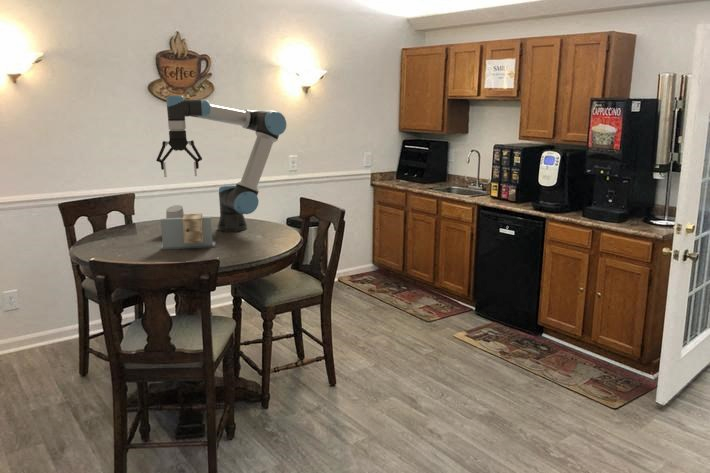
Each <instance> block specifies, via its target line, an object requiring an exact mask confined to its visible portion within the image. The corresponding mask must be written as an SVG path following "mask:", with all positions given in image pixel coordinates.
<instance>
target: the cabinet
mask: <svg viewBox="0 0 710 473" xmlns="http://www.w3.org/2000/svg"><path fill="white" fill-rule="evenodd" d="M202 217H203V213H184V216H183V219H182V220H183V232H184V243H198V242H203V227H202Z"/></svg>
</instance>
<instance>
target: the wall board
mask: <svg viewBox="0 0 710 473" xmlns="http://www.w3.org/2000/svg"><path fill="white" fill-rule="evenodd" d="M182 219H183V218H167V219H166V218H161V219H160V226H161V227H160V228H161V240H162V245H161V246H160V250H161V251H162V250H166V251H167V250H182V249H198V248H199V249H202V248H203V249H204V248H214V247H216V241H213V229H212V228H213V227H212V216H202V227H203V242H198V243H184V232H183V220H182Z"/></svg>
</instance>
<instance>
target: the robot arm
mask: <svg viewBox="0 0 710 473" xmlns="http://www.w3.org/2000/svg"><path fill="white" fill-rule="evenodd" d="M166 111H167V124H168V126H167V127H168V130H169V131H168V135H169V137H168V138H169V140H168V141H166V140H163V141H162V144H161V145H162V146H161V149H160V151H159V152H158V155H157V157H156V162H158V163H160V169H161V171H163V175H164V178H167V177H168V176H167V175H168V174H167V164H166V163H167V162H166V161H165V160H167V158H168V157H169V156H170V155H171V153H172V152H173V151H174V152H177V151H181V152H182V151H185V152H186V153H187V154H188V155H189V156H190V157H191V158H192V159H193V168H194V177H197V176H198V174H197V169H198V170H199V167H200V165H199V162H201V161H202V160H203V157H202V156H201V154H200V152H199V150H198V148H197V147H196V146H195V141H194V140H187V139H188V138H187V131H186V126H187V125H186V117H187V118H188V117H192V118H198V119H203V120H209V121H214V122H220V123H225V124H231V125H236V126H241V127H242V128H243V129H245V130H251V131H252V132H253V131H254V132H255V135H256V139H255V141H254V144H253V147H252V150H251V152H250V155H249V157H248V161H247V163H246V166H245V168H244V171H243V174H242V176H241V180H240V181H238V182H237V183H236V184H232V185H231V184H230V185H221V186H220V187H219V188H218V199H219V201H218V202H219V214H220V215H219V219H218V222H217V230H218V231H220V232H225V233H226V232H227V233H228V232H229V233H231V232H232V233H233V232H241V231H244V230H247V228H248V224H247V221H246V219H245V215H249V214H253V213H254V212H256V210H257V208H258V206H259V199H258V194H259V192H260V191H259V189H258V186H259V183H260V180H261V178H262V174H263V172H264V169H265V166H266V164H267V160H268V158H269V156H270V153H271V150H272V147H273V144H274V143H276V142H277V141H278V139H279V136H280V135H283V133H285V131H286V129H287V120H286V117H285V116H284V114H282V113H281V112H280V111H277V110H252V109H251V110H250V109H244V110H240V109H236V108H232V107H231V108H230V107H225V106H220V105H216V104H211V103H210V102H209V100H207V99H185V97H184V95H167V97H166ZM168 145H169V146H170V148H169V149H168V151H167V152H166V154H164V156H163V153H164V150H165V149H166V147H167V146H168ZM188 145H189V146H190V147H191V148H192V149H193V152H194V153H195V155H194V154H193V153H192V152H191V150H190V149H189V148H188V147H187V146H188ZM162 156H163V157H162ZM196 156H197V157H196ZM161 157H162V158H161Z"/></svg>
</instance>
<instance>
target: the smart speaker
mask: <svg viewBox="0 0 710 473" xmlns="http://www.w3.org/2000/svg"><path fill="white" fill-rule="evenodd" d="M165 213H166V215H165V216H166V217H165V219H167V218H183V216H184V214H185V213H184V206H183V205H180V204H179V205H178V204H177V205H172V206H169V207H167V208H166V212H165Z"/></svg>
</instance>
